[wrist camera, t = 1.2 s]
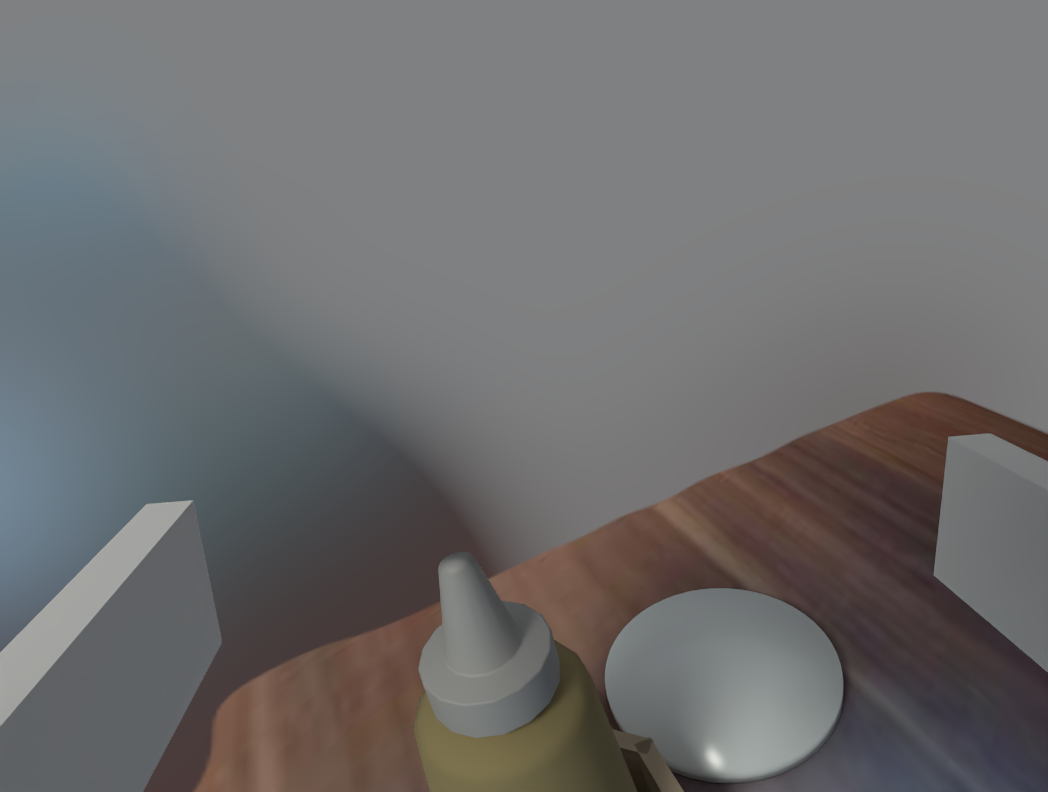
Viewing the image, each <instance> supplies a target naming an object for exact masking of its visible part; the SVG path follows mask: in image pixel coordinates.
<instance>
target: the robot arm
mask: <svg viewBox="0 0 1048 792" xmlns="http://www.w3.org/2000/svg"><path fill="white" fill-rule="evenodd" d="M934 576H935V577H936V578H937V579H939V580H940V581H941V582H942V583H943V584H944V585H946V586H947V587H948V588H949V589H950V590H952V591H953V592H954V593H955V594H956V595H957V596H959V597H960V598H961V599H962V600H963V601H964V602H966V603H967V604H968V605H969V606H970V607H971V608H973V609H974V610H975V611H976V612H977V613H979V614H980V615H981V616H982V617H983V618H984V619H986V620H987V621H988V622H989V623H990V624H991V625H993V626H994V627H995V628H996V629H997V630H998V631H1000V632H1001V633H1002V634H1003V635H1004V636H1006V637H1007V638H1008V639H1009V640H1010V641H1011V642H1013V643H1014V644H1015V645H1016V646H1017V647H1018V648H1020V649H1021V650H1022V651H1023V652H1024V653H1025V654H1027V655H1028V656H1029V657H1030V658H1031V659H1033V660H1034V661H1035V662H1036V663H1037V664H1038V665H1040V666H1041V667H1042V668H1043V669H1044V670H1045V671H1047V672H1048V461H1046V460H1044V459H1042V458H1040V457H1038V456H1036V455H1034V454H1031V453H1029V452H1027V451H1025V450H1023V449H1021V448H1019V447H1017V446H1015V445H1013V444H1011V443H1009V442H1007V441H1005V440H1003V439H1001V438H999V437H997V436H995V435H993V434H990V433H988V434H976V435H965V436H953V437H948V446H947V456H946V465H945V474H944V483H943V493H942V502H941V511H940V521H939V530H938V539H937V548H936V558H935V567H934ZM221 643H222V640H221V635H220V630H219V625H218V620H217V615H216V611H215V605H214V600H213V595H212V590H211V585H210V580H209V576H208V571H207V566H206V561H205V556H204V551H203V546H202V542H201V536H200V531H199V526H198V521H197V517H196V512H195V507H194V502H193V500H191V501H179V502H168V503H156V504H146V506H144V508H142V509H141V510H140V512H138V513H137V515H136V516H135V517H134V518H133V519H132V520H131V521H130V522H129V523H128V524H127V525H126V526H125V527H124V528H123V529H122V530H121V531H120V532H119V533H118V534H117V535H116V536H115V537H114V538H113V539H112V540H111V541H110V542H109V543H108V544H107V545H106V546H105V547H104V548H103V549H102V550H101V551H100V552H99V553H98V554H97V555H96V556H95V557H94V558H93V559H92V560H91V561H90V562H89V563H88V564H87V565H86V566H85V567H84V568H83V570H81V571H80V572H79V573H78V574H77V575H76V576H75V577H74V578H73V579H72V580H71V581H70V582H69V583H68V584H67V585H66V587H65V588H64V589H63V590H62V591H61V592H60V593H59V594H58V595H57V596H56V597H55V598H54V599H53V600H52V601H51V602H50V603H49V604H48V605H47V606H46V607H45V608H44V609H43V610H42V611H41V612H40V613H39V614H38V615H37V616H36V617H35V618H34V619H33V620H32V621H31V622H30V623H29V624H28V625H27V626H26V627H25V628H24V629H23V630H22V631H21V632H20V633H19V634H18V635H17V636H16V637H15V638H14V639H13V640H12V641H11V642H10V643H9V644H8V645H7V646H6V647H5V649H3V651H2V652H0V792H143V790H144V788H145V787H146V785H147V783H148V781H149V779H150V777H151V775H152V773H153V771H154V770H155V767H156V766H157V764H158V762H159V760H160V758H161V756H162V754H163V753H164V751H165V749H166V747H167V745H168V743H169V741H170V739H171V738H172V736H173V734H174V731H175V730H176V728H177V726H178V724H179V722H180V721H181V718H182V717H183V715H184V713H185V711H186V709H187V707H188V705H189V703H190V702H191V700H192V698H193V696H194V694H195V692H196V690H197V688H198V687H199V684H200V683H201V681H202V679H203V677H204V675H205V673H206V671H207V670H208V668H209V666H210V664H211V662H212V660H213V658H214V656H215V654H216V652H217V651H218V649H219V647H220V645H221Z"/></svg>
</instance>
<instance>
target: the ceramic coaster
mask: <svg viewBox="0 0 1048 792" xmlns="http://www.w3.org/2000/svg"><path fill="white" fill-rule="evenodd" d="M605 686H606V693H607V697H608V702H609V705H610V708H611V712H612V715H613V717H614V719H615V721H616V723H617V725H618V727H619V729H620V730H621V731H622V732H626V733H630V734H634V735H638V736H642V737H646V738H649V737H650V738H651V739H653V741H654V744H655V746H656V748H657V749H658V751H659V752H660V754H661V756H662V757H663V759H664V760H665V762H666V764H667V765H668V767H669V769H670V770H671V772H673V773H676V774H679V775H682V776H685V777H688V778H691V779H696V780H701V781H706V782H714V783H746V782H752V781H759V780H763V779H767V778H770V777H774V776H777V775H780V774H782V773H784V772H787V771H789V770H791V769H793V768H795V767H797V766H798V765H800V764H802V763H803V762H805V761H807V760H808V759H809V758H810V757H811V756H813V755H814V754H815V753H816V752H818V751H819V749H820V748H821V747H822V746H823V745H824V744H825V743H826V742H827V740H828V739H829V737H830V736H831V734H832V733H833V731H834V730H835V728H836V725H837V723H838V721H839V718H840V716H841V711H842V706H843V694H844V687H843V675H842V668H841V664H840V661H839V658H838V655H837V653H836V651H835V649H834V647H833V645H832V643H831V641H830V640H829V639H828V637H827V636H826V634H825V633H824V632H823V631H822V630H821V629H820V628H819V626H818V625H817V624H816V623H815V622H813V621H812V620H811V619H810V618H809V617H807V616H806V615H805V614H804V613H802V612H800V611H799V610H797V609H796V608H794V607H793V606H791V605H789V604H787V603H785V602H783V601H781V600H778V599H775V598H773V597H770V596H767V595H764V594H760V593H757V592H752V591H746V590H740V589H729V588H712V589H701V590H695V591H689V592H685V593H681V594H678V595H674V596H672V597H669V598H666V599H664V600H662V601H660V602H658V603H656V604H654V605H652V606H650V607H648V608H647V609H645V610H644V611H642V612H641V613H640V614H638V615H637V616H636V617H635V618H633V619H632V620H631V621H630V622H629V623H628V624H627V625H626V626H625V627H624V628H623V630H622V631H621V632H620V634H619V635H618V637H617V638H616V640H615V642H614V643H613V645H612V647H611V650H610V652H609V655H608V658H607V663H606V668H605Z"/></svg>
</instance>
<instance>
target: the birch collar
mask: <svg viewBox="0 0 1048 792" xmlns="http://www.w3.org/2000/svg"><path fill="white" fill-rule="evenodd" d="M612 730H613V732H614V735H615V737H616V740H617V742H618V745H619V747H620V750H621V752H622V755H623V757H624V760H625V762H626V765H627V767H628V769H629V772H630V774H631V777H632V779H633V782H634V784H635V787H636V789H637V792H684V791H683V789H682V788H681V786H680V785H679V783H678V781H677V780H676V778H675V777H674V775H673V773H672V772H671V770H670V769H669V767H668V765H667V764H666V762H665V760H664V759H663V757H662V756H661V754H660V752H659V751H658V749H657V748H656V746H655V744H654V741H653V739H651V738H650V737H649V738H646V737H642V736H638V735H634V734H630V733H626V732H622V731H618V730H614V729H612Z"/></svg>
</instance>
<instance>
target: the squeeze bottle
mask: <svg viewBox="0 0 1048 792" xmlns="http://www.w3.org/2000/svg"><path fill="white" fill-rule="evenodd" d="M438 570H439V583H440V596H441V610H442V623H443V624H442V625H441V626H440V627H438V628H437V629H436V630H435V632H434V633H433V635H432V636H431V638H430V639H429V640H428V642H427V643H426V645H425V646H424V648H423V649H422V654H421V659H420V664H419V668H418V670H419V673H420V676H421V680H422V683H423V686H424V689H425V692H424V693H423V695H422V696H421V698H420V699H419V703H418V708H417V713H416V718H415V723H414V728H413V730H414V734H415V737H416V741H417V745H418V749H419V752H420V756H421V760H422V764H423V768H424V771H425V775H426V779H427V783H428V786H429V790H430V792H637V789H636V787H635V784H634V782H633V779H632V777H631V774H630V772H629V769H628V767H627V765H626V762H625V760H624V757H623V755H622V752H621V750H620V747H619V745H618V742H617V740H616V737H615V735H614V732H613V730H612V727H611V725H610V722H609V720H608V717H607V715H606V713H605V710H604V708H603V705H602V703H601V700H600V698H599V695H598V693H597V690H596V688H595V685H594V683H593V680H592V678H591V676H590V674H589V673H588V671H587V669H586V668H585V666H584V665H583V663H582V661H581V660H580V658H579V656H578V655H577V654H576V653H575V652H573V651H572V650H570V649H568V648H567V647H565V646H563V645H562V644H560V643H559V642H557V641H555V640H554V638H553V635H552V631H551V629H550V628H549V626H548V624H547V623H546V621H545V619H544V618H543V616H542V615H541V614H540V613H538V612H536V611H535V610H533V609H531V608H530V607H528V606H526V605H525V604H519V603H513V602H506V601H501V599H500V598H499V596H498V594H497V593H496V591H495V590H494V588H493V587H492V585H491V583H490V582H489V580H488V579H487V577H486V576H485V574H484V572H483V571H482V569H481V568H480V566H479V565H478V563H477V562H476V560H475V558H474V557H473V555H472V554H470V553H468V552H456V553H453V554H451V555H448V556H447V557H445V558H444V559H443V560H442V561H441V563H440V564H439V569H438Z"/></svg>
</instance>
